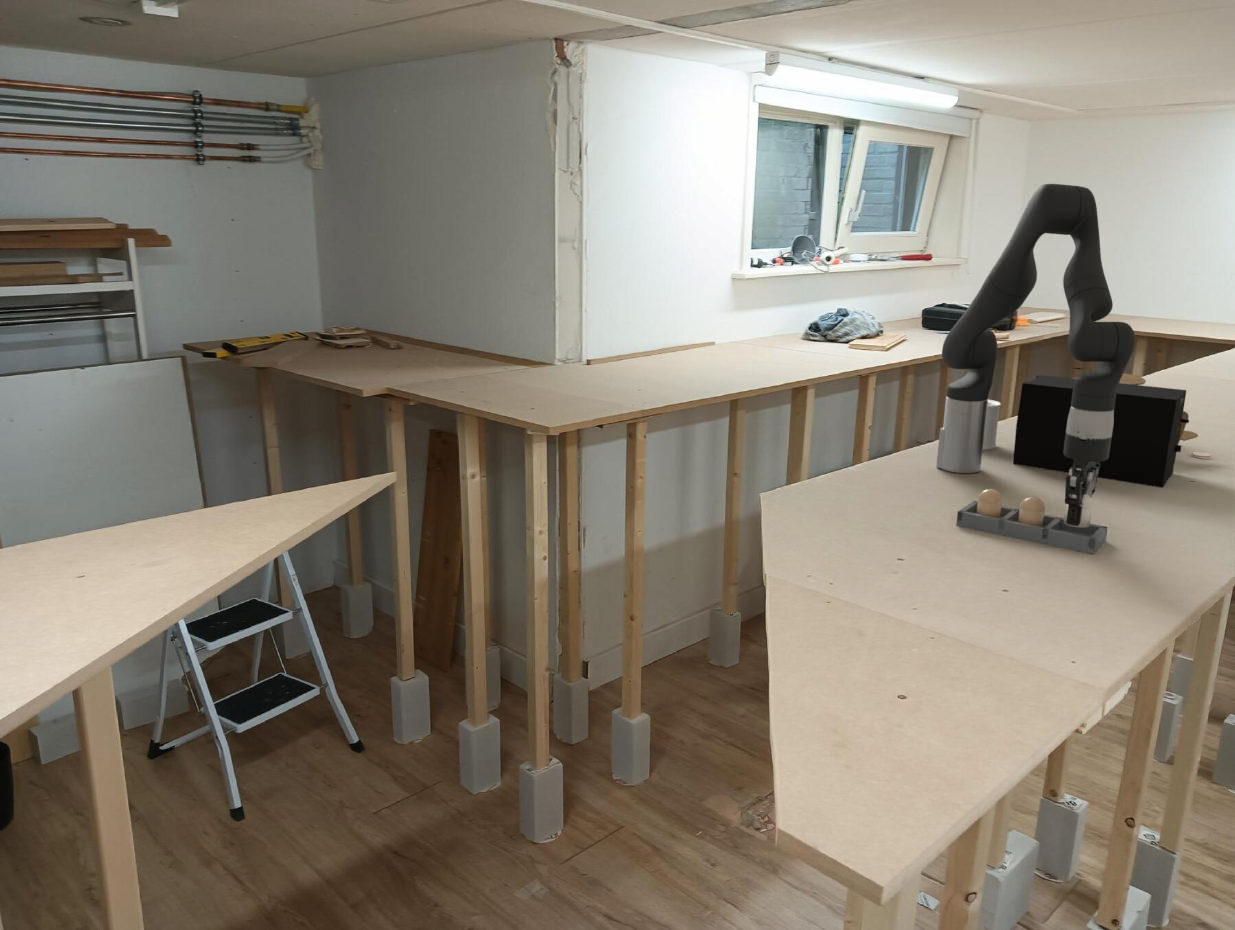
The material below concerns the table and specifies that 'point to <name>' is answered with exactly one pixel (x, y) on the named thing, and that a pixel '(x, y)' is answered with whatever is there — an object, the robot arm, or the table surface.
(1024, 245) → the robot arm
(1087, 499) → the cream egg
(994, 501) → the brown egg back
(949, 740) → the table surface
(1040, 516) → the brown egg middle
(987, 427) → the white tall cylinder
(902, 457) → the table surface
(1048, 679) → the table surface
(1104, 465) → the uninterruptible power supply
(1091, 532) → the egg tray
